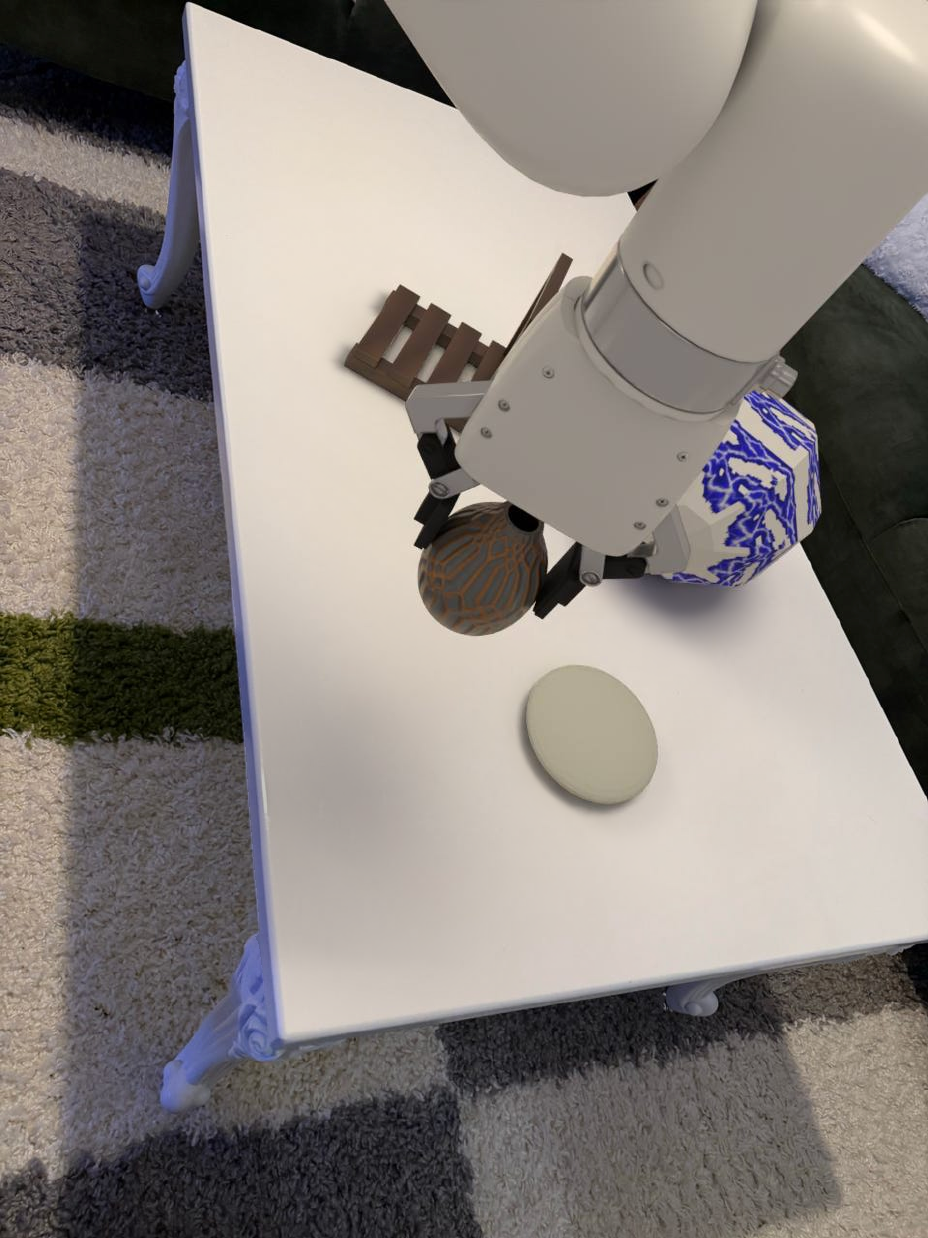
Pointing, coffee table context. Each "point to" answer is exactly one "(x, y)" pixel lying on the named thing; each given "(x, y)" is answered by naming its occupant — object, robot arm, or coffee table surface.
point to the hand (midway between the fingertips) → (486, 563)
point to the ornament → (751, 495)
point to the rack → (434, 330)
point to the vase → (483, 568)
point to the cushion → (591, 734)
